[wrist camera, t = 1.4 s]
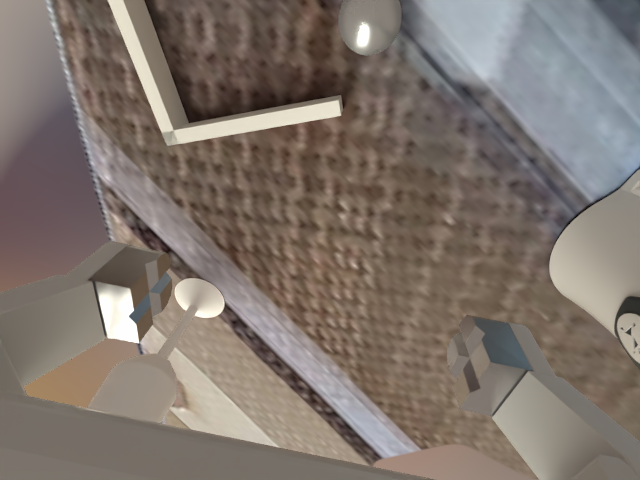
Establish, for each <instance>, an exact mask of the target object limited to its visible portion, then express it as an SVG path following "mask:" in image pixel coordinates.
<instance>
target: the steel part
mask: <svg viewBox="0 0 640 480" xmlns="http://www.w3.org/2000/svg"><path fill="white" fill-rule="evenodd" d="M401 19H402V11H401V5H400V2H399V0H344V1H343V3H342V5H341V8H340V12H339V30H340V34H341V37H342V39H343V41H344V42H345V44H346V45H347V46H348V47H349V48H350V49H351V50H352V51H354V52H356V53H358V54H361V55H374V54H377V53H380V52H382V51H383V50H385V49H386V48H387V47H389V46H390V45H391V43H392V42H393V41H394V39H395V38H396V36H397V34H398V32H399V29H400V25H401Z"/></svg>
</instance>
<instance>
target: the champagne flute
mask: <svg viewBox="0 0 640 480" xmlns="http://www.w3.org/2000/svg"><path fill="white" fill-rule="evenodd" d="M175 297H176V300H177V302H178V303H179V305H180V306H181V307H182V308H183V309H184V310H186V312H185V313H184V315H183V316H182V318H181V319H180V321H179V322H178V324H177V325H176V327H175V328H174V330H173V331H172V333H171V334H170V336H169V337H168V339H167V340H166V342H165V343H164V345H163V346H162V348H161V349H160V351H159V352H158V354H146V355H138V356H134V357H131V358H128V359H126V360H124V361H122V362H120V363H118V364H117V365H115V367H113V368H112V370H111V371H110V373H109V374H108V376H107V377H106V379H105V380H104V382H103V383H102V385H101V387H100V388H99V390H98V391H97V393H96V394H95V396H94V398H93V399H92V401H91V402H90V404H89V406H88V407H87V408H88V409H93V410H98V411H103V412H108V413H113V414H118V415H122V416H127V417H132V418H137V419H142V420H147V421H152V422H157V423H161V421H162V420H163V418H164V417H165V415H166V414H167V412H168V411H169V409H170V408H171V406H172V404H173V403H174V401H175V399H176V397H177V392H178V383H177V378H176V374H175V372H174V370H173V368H172V366H171V363H170V362H169V360H168V357H169V356H170V354H171V352H172V351H173V349H174V348H175V346H176V344H177V343H178V341H179V340H180V338H181V336H182V335H183V333H184V332H185V330H186V328H187V327H188V325H189V324H190V322H191V320H192V319H193V317H194V315H195V316H198V317H203V318H210V317H214V316H217V315H219V314H220V313H221V312H222V311H223V308H224V298H223V296H222V294H221V292H220V291H219V290H218V289H217V288H216V287H215V286H214V285H212V284H211V283H209V282H207V281H205V280H202V279H197V278H188V279H184V280H182V281H181V282H179V283H178V284H177V286H176V288H175Z"/></svg>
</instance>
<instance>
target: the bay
mask: <svg viewBox="0 0 640 480" xmlns="http://www.w3.org/2000/svg"><path fill="white" fill-rule="evenodd" d="M108 2H109V4H110V7H111V9H112V12H113V14H114V16H115V19H116V21H117V24H118V26H119V29H120V31H121V34H122V36H123V39H124V41H125V44H126V46H127V48H128V51H129V53H130V56H131V58H132V61H133V63H134V66H135V68H136V71H137V73H138V76H139V78H140V80H141V83H142V85H143V88H144V90H145V93H146V95H147V98H148V100H149V103H150V105H151V108H152V110H153V112H154V115H155V117H156V120H157V122H158V125H159V127H160V130H161V132H162V135H163V137H164V140H165V142H166V144H167V146H170V145H176V144H181V143H187V142H193V141H199V140H204V139H210V138H216V137H221V136H227V135H233V134H239V133H244V132H250V131H256V130H262V129H267V128H273V127H279V126H285V125H290V124H296V123H302V122H308V121H313V120H319V119H325V118H331V117H336V116H341V114H342V111H343V105H342V98H341V95H338V96H332V97H327V98H322V99H316V100H311V101H305V102H300V103H295V104H289V105H284V106H279V107H273V108H268V109H263V110H257V111H252V112H246V113H241V114H236V115H230V116H225V117H220V118H214V119H209V120H204V121H198V122H193V123H189V122H188V119H187V117H186V114H185V111H184V108H183V106H182V103H181V100H180V97H179V95H178V92H177V89H176V86H175V84H174V81H173V78H172V75H171V73H170V70H169V67H168V64H167V62H166V59H165V56H164V53H163V51H162V48H161V45H160V42H159V40H158V37H157V34H156V31H155V29H154V26H153V23H152V20H151V17H150V15H149V12H148V9H147V6H146V4H145V1H144V0H108Z"/></svg>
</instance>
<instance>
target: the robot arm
mask: <svg viewBox="0 0 640 480" xmlns="http://www.w3.org/2000/svg"><path fill="white" fill-rule="evenodd" d="M170 266H171V264H170V256H169V255H168V254H167V253H164V252H159V251H155V250H151V249H146V248H142V247H137V246H133V245H128V244H123V243H118V242H114V241H112V242H107V243H106V244H104V245H103V246H102V247H100V248H99V249H98V250H97V251H96V252H94V253H93V254H92V255H90V256H89V257H88V258H87V259H85V260H84V261H83V262H82V263H80V264H79V265H78V266H77V267H75V268H74V269H73V270H72V271H70V272H69V273H68V274H67V275H65V276H62V275H56V276H53V277H50V278H46V279H43V280H40V281H36V282H33V283H30V284H26V285H23V286H20V287H17V288H13V289H10V290H7V291H4V292H0V480H434V479H430V478H425V477H420V476H415V475H410V474H405V473H400V472H395V471H390V470H385V469H381V468H376V467H371V466H366V465H361V464H356V463H351V462H346V461H342V460H337V459H332V458H327V457H322V456H317V455H312V454H307V453H302V452H298V451H293V450H288V449H283V448H278V447H273V446H268V445H264V444H259V443H254V442H249V441H244V440H239V439H234V438H230V437H225V436H220V435H215V434H210V433H205V432H200V431H195V430H191V429H186V428H181V427H176V426H171V425H166V424H161V423H157V422H152V421H147V420H142V419H137V418H132V417H127V416H122V415H118V414H113V413H108V412H103V411H98V410H93V409H88V408H84V407H79V406H74V405H69V404H64V403H59V402H54V401H49V400H44V399H40V398H35V397H30V396H28V395H27V393H26V391H25V389H24V386H25V385H27V384H29V383H31V382H32V381H34V380H36V379H37V378H39V377H41V376H43V375H44V374H46V373H48V372H50V371H51V370H53V369H55V368H56V367H58V366H60V365H61V364H63V363H65V362H66V361H68V360H70V359H72V358H74V357H75V356H77V355H79V354H81V353H82V352H84V351H86V350H87V349H89V348H91V347H93V346H94V345H96V344H98V343H99V342H101V341H103V340H105V337H107V338H113V339H119V340H125V341H130V342H136V343H139V342H140V341H141V340H142V338H143V337H144V335H145V334H146V333H147V331H148V330H149V329H150V327H151V326H152V325H153V320H152V316H154V315H156V314H159V313H161V312H162V311H163V309H164V308H165V307H166V305H167V303H168V301H169V298H170V296H171V291H172V279H171V277H170V276H169V275H168V274H167V272H166V271H167V270H168V269H169V268H170ZM549 268H550V275H551V279H552V281H553V283H554V285H555V287H556V288H557V289H558V290H559V292H560V293H562V294H563V295H564V296H565V297H567V298H568V299H570V300H571V301H573V302H574V303H576V304H577V305H579V306H580V307H581V308H583V309H584V310H585V311H587V312H588V313H589V314H590V315H592V316H593V317H594V318H595V319H596V320H598V321H599V322H600V323H601V324H602V325H603V326H604V327H606V328H607V329H608V330H609V331H610V332H611V333H612V334H613V335H614V336H615V337H617V338H618V340H619V341H620V343H621V345H622V346H623V348H624V349H625V351H626V352H627V354H628V355H629V357H630V358H631V360H632V361H633V362H634V364H635V365H636V366H637V367H638V369H639V370H640V169H639V170H638V171H637V172H636V173H635V174H634V175H632V177H631V178H630V179H629V180H628V181H627V182H626V183H625V184H624V185H623V186H622V187H621V188H620V189H619V190H617V191H616V192H614V193H613V194H611V195H609V196H608V197H606V198H604V199H602V200H601V201H599V202H597V203H596V204H594V205H592V206H591V207H589V208H588V209H587V210H585V211H584V212H583V213H581V214H580V215H579V216H578V217H576V218H575V219H574V220H573V221H572V222H571V223H570V224H569V225H568V226H567V228H566V229H565V230H564V231H563V233H562V234H561V235H560V237H559V238H558V240H557V242H556V244H555V246H554V248H553V251H552V254H551V257H550V266H549ZM459 326H460V329H461V333H459V334H457V335H455V336H453V337H452V339H451V341H450V344H449V346H448V352H447V363H448V367H449V371H450V372H451V373H452V374H453V375H454V377H455V378H456V379H457V380H456V382H455V384H454V385H453V386H454V390H455V394H456V398H457V401H458V405H459V409H462V410H467V411H471V412H475V413H480V414H484V415H488V416H492V419H493V420H494V421H495V423H496V424H497V425H498V427H499V428H500V429H501V430H502V432H503V433H504V434H505V436H506V437H507V438H508V440H509V441H510V442H511V443H512V445H513V446H514V447H515V449H516V450H517V451H518V453H519V454H520V455H521V457H522V458H523V459H524V460H525V462H526V463H527V464H528V466H529V467H530V468H531V470H532V471H533V472H534V473H535V475H536V476H537V477H538V479H539V480H640V441H638V440H637V439H636V438H635V437H634V436H632V435H631V434H630V433H629V432H627V431H626V430H625V429H624V428H623V427H621V426H620V425H619V424H618V423H617V422H615V421H614V420H613V419H612V418H610V417H609V416H608V415H607V414H606V413H604V412H603V411H602V410H601V409H599V408H598V407H597V406H596V405H595V404H593V403H592V402H591V401H590V400H589V399H587V398H586V397H585V396H584V395H582V394H581V393H580V392H579V391H578V390H576V389H575V388H574V387H573V386H572V385H570V384H569V383H568V382H567V381H565V380H564V379H563V378H561V377H556V376H555V374H554V372H553V370H552V369H551V367H550V365H549V364H548V362H547V360H546V358H545V357H544V355H543V353H542V351H541V350H540V348H539V346H538V345H537V343H536V341H535V339H534V338H533V336H532V334H531V332H530V331H529V329H528V328H527V327H525V326H524V325H520V324H514V323H509V322H501V321H496V320H491V319H486V318H481V317H476V316H471V315H466V316H465V317H464V318H463V319H462V321H461V323H460V324H459Z"/></svg>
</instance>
